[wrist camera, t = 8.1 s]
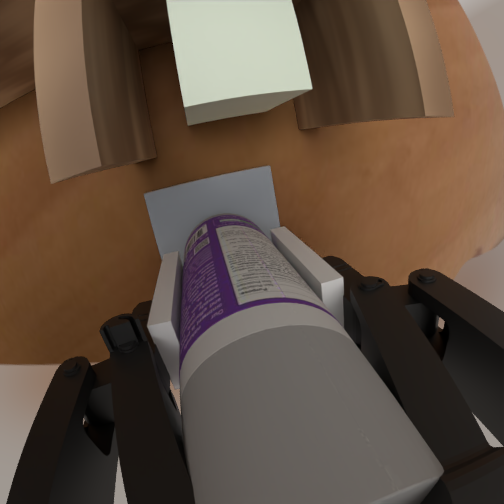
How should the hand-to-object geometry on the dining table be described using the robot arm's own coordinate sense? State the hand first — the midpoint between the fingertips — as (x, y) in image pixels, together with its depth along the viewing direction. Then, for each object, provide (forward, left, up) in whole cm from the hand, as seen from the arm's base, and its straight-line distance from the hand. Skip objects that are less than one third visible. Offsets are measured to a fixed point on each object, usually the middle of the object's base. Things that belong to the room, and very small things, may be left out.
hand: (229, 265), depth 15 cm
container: (0, 0, -2) cm, 2 cm away
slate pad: (0, 0, -5) cm, 5 cm away
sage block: (+2, +11, -5) cm, 12 cm away
